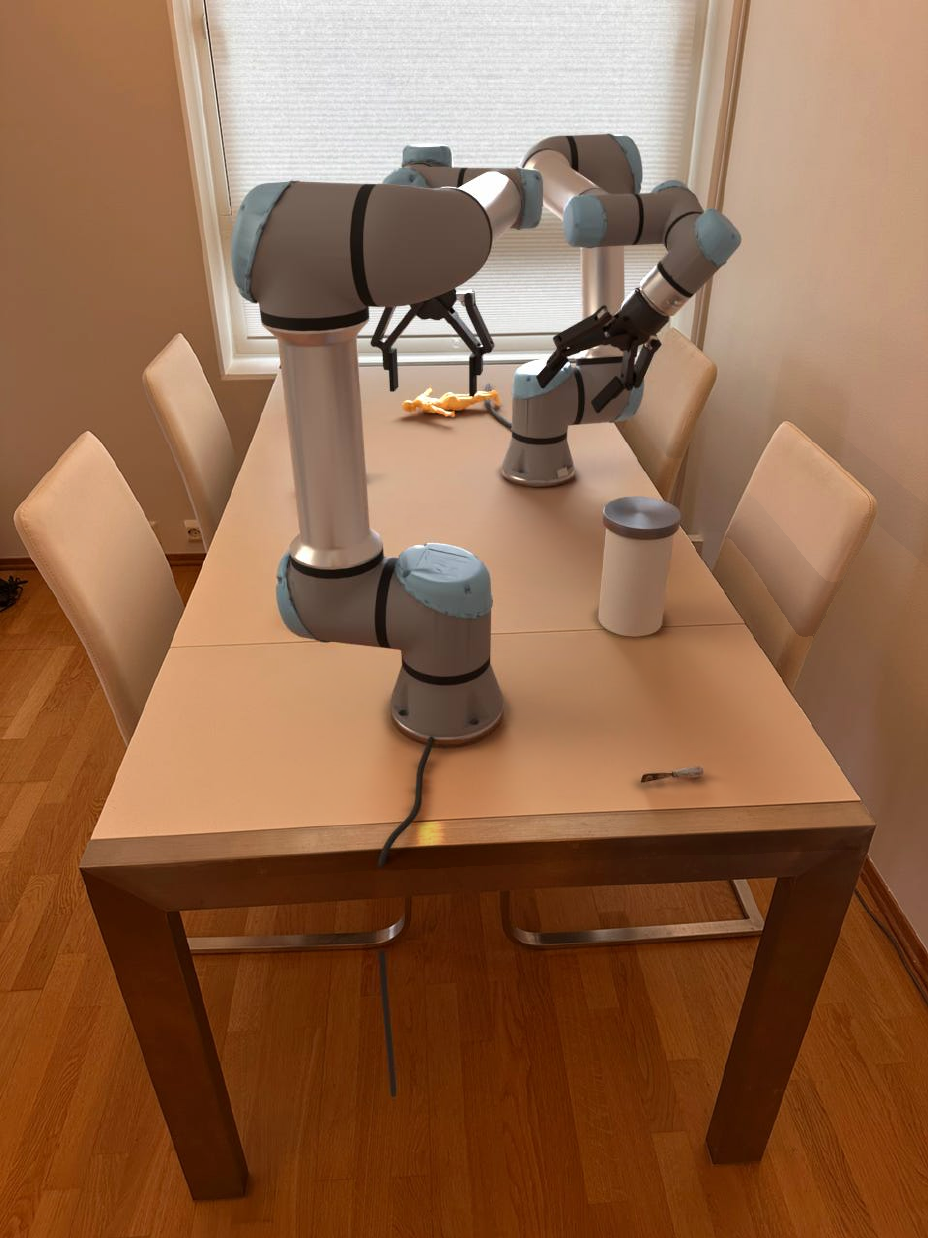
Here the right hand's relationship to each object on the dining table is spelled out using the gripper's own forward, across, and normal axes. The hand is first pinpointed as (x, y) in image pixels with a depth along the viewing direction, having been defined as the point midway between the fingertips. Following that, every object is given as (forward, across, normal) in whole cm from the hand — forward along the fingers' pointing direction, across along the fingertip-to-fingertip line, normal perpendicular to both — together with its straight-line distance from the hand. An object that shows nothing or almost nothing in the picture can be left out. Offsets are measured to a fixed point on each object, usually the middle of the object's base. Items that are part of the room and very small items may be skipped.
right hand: (567, 395), depth 155 cm
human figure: (+46, +25, +54) cm, 75 cm away
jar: (+9, +4, -41) cm, 42 cm away
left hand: (+11, -21, +2) cm, 24 cm away
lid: (-6, -4, -34) cm, 34 cm away
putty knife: (+2, -13, -74) cm, 75 cm away
